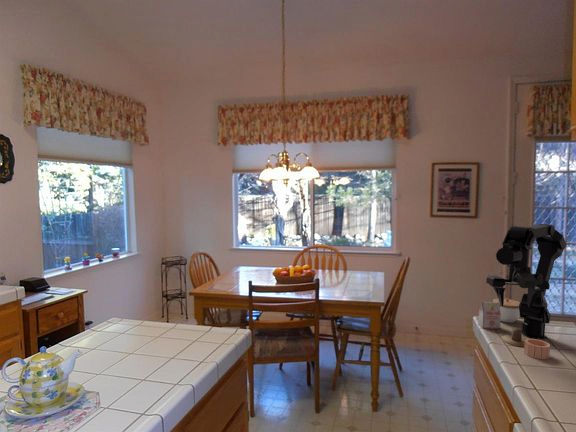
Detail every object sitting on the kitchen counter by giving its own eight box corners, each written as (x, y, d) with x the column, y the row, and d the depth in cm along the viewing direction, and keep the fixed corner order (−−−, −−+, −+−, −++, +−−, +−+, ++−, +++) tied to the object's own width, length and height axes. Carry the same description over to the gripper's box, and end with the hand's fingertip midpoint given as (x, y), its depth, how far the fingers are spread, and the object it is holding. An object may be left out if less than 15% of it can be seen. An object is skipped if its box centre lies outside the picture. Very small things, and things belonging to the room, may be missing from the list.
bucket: (539, 350, 132) (540, 338, 132) (554, 359, 125) (555, 347, 125) (519, 350, 132) (520, 338, 131) (533, 359, 125) (534, 347, 124)
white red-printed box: (478, 324, 155) (479, 300, 155) (495, 325, 155) (496, 301, 155) (482, 328, 152) (484, 303, 151) (499, 328, 152) (501, 303, 151)
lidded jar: (525, 325, 156) (526, 302, 155) (496, 323, 158) (497, 300, 157) (515, 317, 166) (516, 295, 166) (488, 314, 168) (489, 293, 168)
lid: (520, 337, 143) (521, 324, 143) (537, 347, 134) (538, 333, 134) (496, 337, 143) (497, 324, 143) (511, 347, 134) (512, 333, 134)
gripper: (501, 265, 127) (498, 312, 128) (561, 268, 126) (557, 315, 127) (487, 259, 138) (484, 302, 139) (541, 262, 137) (538, 305, 138)
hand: (515, 306), depth 135 cm, fingers open, 9 cm apart
